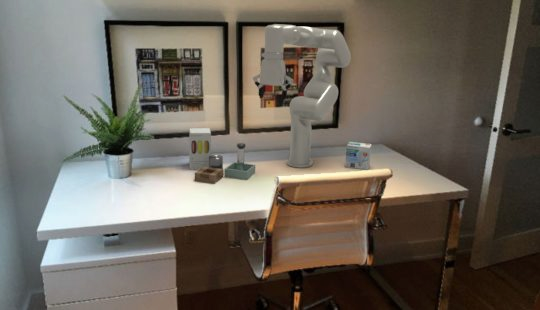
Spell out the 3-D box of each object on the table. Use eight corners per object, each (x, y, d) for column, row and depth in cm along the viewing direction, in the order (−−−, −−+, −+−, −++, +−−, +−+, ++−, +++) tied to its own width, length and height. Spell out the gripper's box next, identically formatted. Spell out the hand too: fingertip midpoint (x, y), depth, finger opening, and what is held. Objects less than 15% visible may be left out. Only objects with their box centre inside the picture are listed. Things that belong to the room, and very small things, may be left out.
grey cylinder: (212, 169, 211) (212, 152, 208) (224, 171, 209) (224, 154, 207) (206, 173, 205) (206, 156, 203) (219, 175, 203) (219, 157, 201)
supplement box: (189, 169, 209) (189, 132, 204) (189, 163, 218) (188, 127, 213) (211, 169, 211) (211, 132, 206) (210, 162, 220) (209, 127, 215)
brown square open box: (204, 174, 204) (204, 166, 203) (223, 176, 201) (223, 169, 200) (194, 180, 196) (194, 172, 195) (214, 183, 193) (214, 175, 192)
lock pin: (238, 171, 207) (238, 142, 203) (245, 172, 206) (246, 143, 202) (234, 173, 203) (235, 144, 200) (242, 175, 202) (243, 145, 199)
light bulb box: (344, 167, 219) (346, 144, 216) (347, 163, 226) (348, 141, 222) (367, 170, 216) (369, 147, 213) (369, 166, 222) (371, 143, 219)
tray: (233, 169, 211) (233, 162, 210) (255, 172, 208) (255, 164, 207) (224, 176, 202) (224, 168, 201) (247, 179, 199) (247, 171, 198)
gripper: (250, 56, 190) (249, 98, 195) (291, 58, 185) (290, 102, 190) (256, 55, 197) (255, 95, 202) (296, 57, 192) (295, 99, 197)
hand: (272, 98), depth 196 cm, fingers open, 9 cm apart
